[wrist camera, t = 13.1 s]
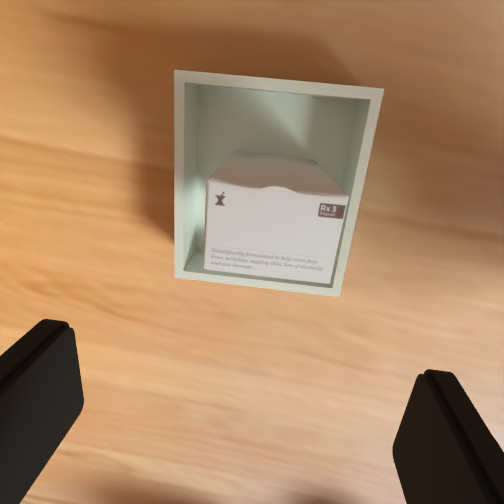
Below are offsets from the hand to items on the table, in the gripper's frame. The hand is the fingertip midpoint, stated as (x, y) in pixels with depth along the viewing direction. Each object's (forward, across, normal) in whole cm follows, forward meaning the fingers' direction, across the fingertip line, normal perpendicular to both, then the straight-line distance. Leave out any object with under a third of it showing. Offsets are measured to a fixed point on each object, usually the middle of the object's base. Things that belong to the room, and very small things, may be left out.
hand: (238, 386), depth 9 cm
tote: (+27, +1, 0) cm, 27 cm away
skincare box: (+27, 0, 0) cm, 27 cm away
